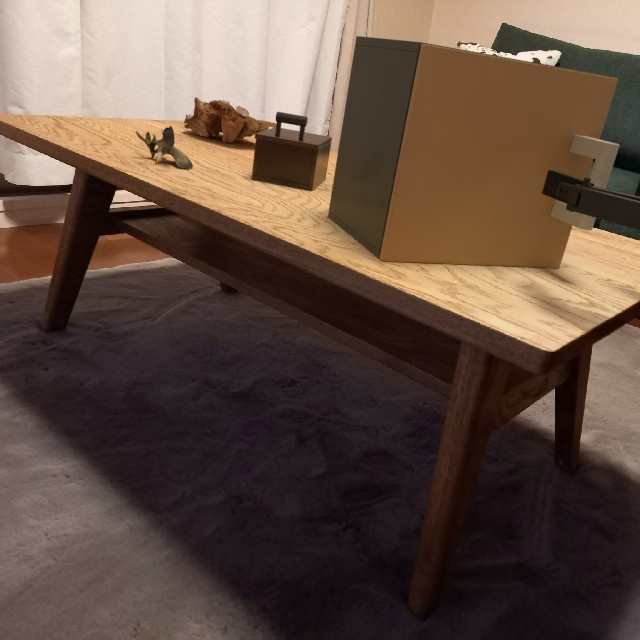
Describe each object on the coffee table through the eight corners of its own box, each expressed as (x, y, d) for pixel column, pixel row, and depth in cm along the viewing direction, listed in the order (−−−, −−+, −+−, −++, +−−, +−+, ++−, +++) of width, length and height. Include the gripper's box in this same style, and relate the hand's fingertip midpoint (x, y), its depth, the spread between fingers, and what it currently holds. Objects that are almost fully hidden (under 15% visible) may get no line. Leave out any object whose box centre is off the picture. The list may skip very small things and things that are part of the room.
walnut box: (312, 191, 107) (318, 149, 104) (251, 179, 108) (255, 138, 105) (325, 179, 118) (331, 141, 116) (270, 168, 119) (274, 131, 117)
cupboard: (553, 266, 85) (611, 76, 76) (377, 259, 76) (420, 42, 67) (480, 227, 101) (522, 65, 91) (327, 217, 91) (356, 35, 82)
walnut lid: (317, 150, 103) (321, 120, 102) (254, 138, 105) (257, 109, 103) (331, 141, 116) (335, 115, 114) (275, 131, 117) (278, 105, 115)
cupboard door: (590, 285, 79) (658, 83, 70) (404, 279, 70) (454, 47, 61) (554, 265, 85) (612, 77, 76) (378, 258, 76) (420, 43, 67)
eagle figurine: (127, 152, 107) (167, 153, 102) (140, 115, 108) (181, 114, 104) (156, 175, 113) (195, 176, 109) (169, 139, 115) (208, 139, 110)
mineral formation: (283, 148, 137) (291, 104, 137) (218, 121, 126) (227, 73, 127) (227, 160, 154) (235, 121, 155) (167, 137, 144) (175, 95, 144)
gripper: (641, 280, 53) (497, 211, 71) (832, 285, 62) (662, 223, 80) (673, 191, 50) (515, 143, 68) (869, 210, 59) (684, 163, 77)
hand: (594, 186), depth 74 cm, fingers open, 13 cm apart
